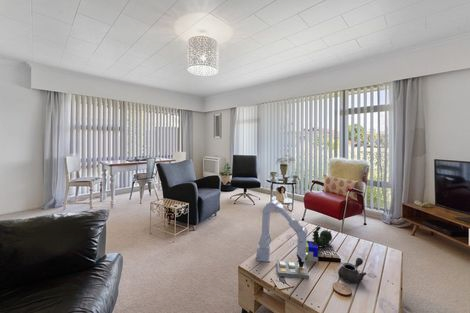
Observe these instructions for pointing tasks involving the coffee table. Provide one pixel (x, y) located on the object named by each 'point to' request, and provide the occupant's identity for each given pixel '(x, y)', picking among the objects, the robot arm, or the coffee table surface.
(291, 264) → the button middle
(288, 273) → the button board
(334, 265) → the coffee table surface
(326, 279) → the coffee table surface
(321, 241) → the green cactus plant
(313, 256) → the puzzle toy
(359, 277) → the teapot
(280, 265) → the button left
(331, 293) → the coffee table surface
